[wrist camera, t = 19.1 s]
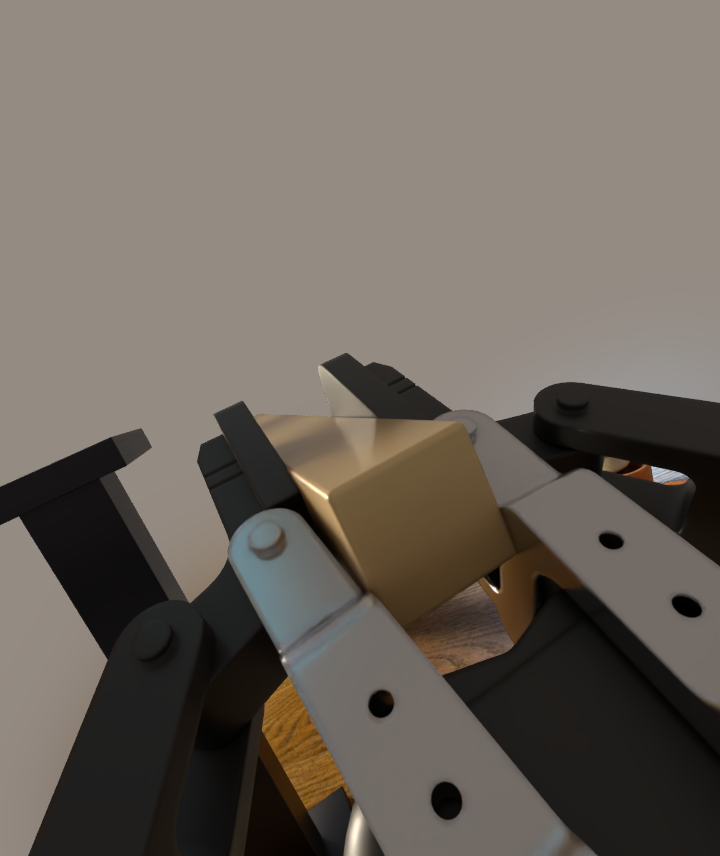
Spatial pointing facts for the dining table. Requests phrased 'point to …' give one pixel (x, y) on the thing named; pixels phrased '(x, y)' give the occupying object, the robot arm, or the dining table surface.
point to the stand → (139, 590)
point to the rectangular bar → (396, 504)
